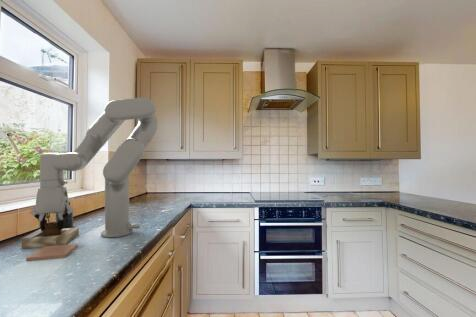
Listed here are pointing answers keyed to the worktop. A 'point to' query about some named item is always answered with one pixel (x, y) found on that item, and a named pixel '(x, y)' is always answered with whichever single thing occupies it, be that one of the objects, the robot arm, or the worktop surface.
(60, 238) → the wooden tray
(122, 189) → the robot arm
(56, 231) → the utensil holder
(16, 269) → the worktop surface
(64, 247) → the terracotta tile
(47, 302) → the worktop surface
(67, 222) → the supplement bottle
